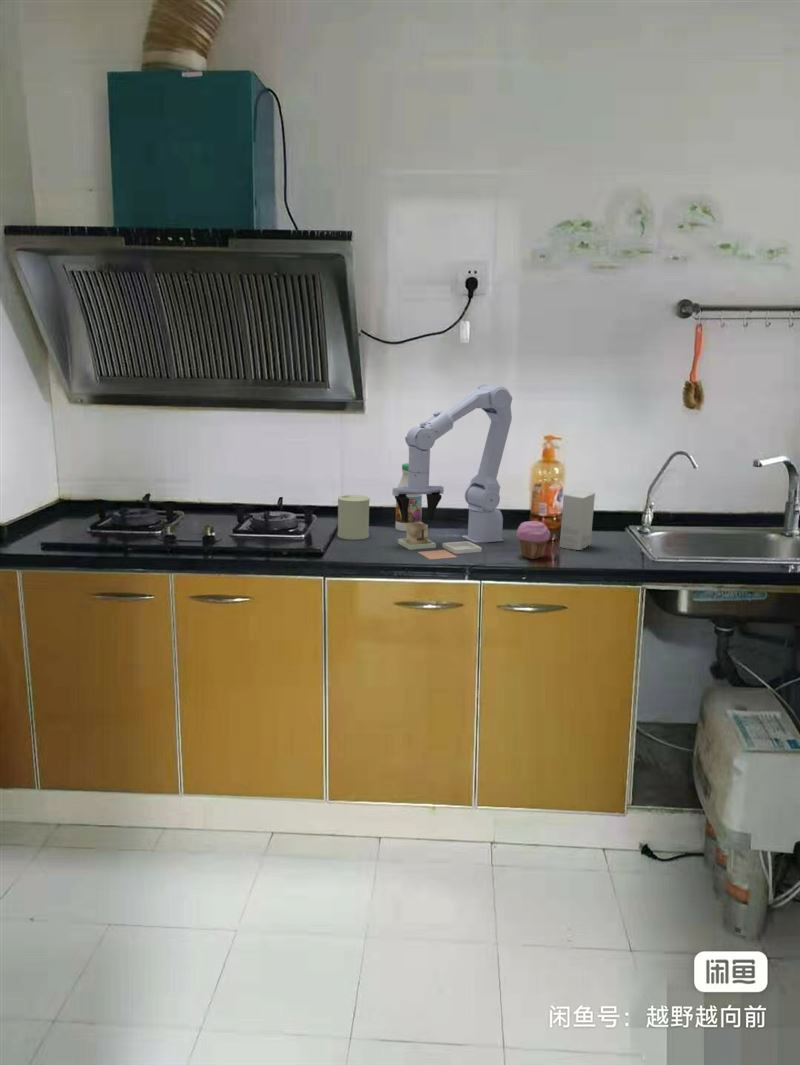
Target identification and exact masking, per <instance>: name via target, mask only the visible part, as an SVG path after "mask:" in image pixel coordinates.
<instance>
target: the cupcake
mask: <svg viewBox="0 0 800 1065" xmlns="http://www.w3.org/2000/svg"><path fill="white" fill-rule="evenodd" d="M515 536H516V538H517V539H518V542H519V546H520V551H521V555H522V557H524V558H528V559H530V560H535V559H539V557H541V558H543V557H544V556H545V551H546V546H547V543H548V541H549V540H550V538H551V531H550V529H549V528H548V527H547V525H546V524H545V523H543V522H541V521H536V520H529V521H523V522H521V523H520V524H519V525H518V527H517V530H516V535H515Z"/></svg>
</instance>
